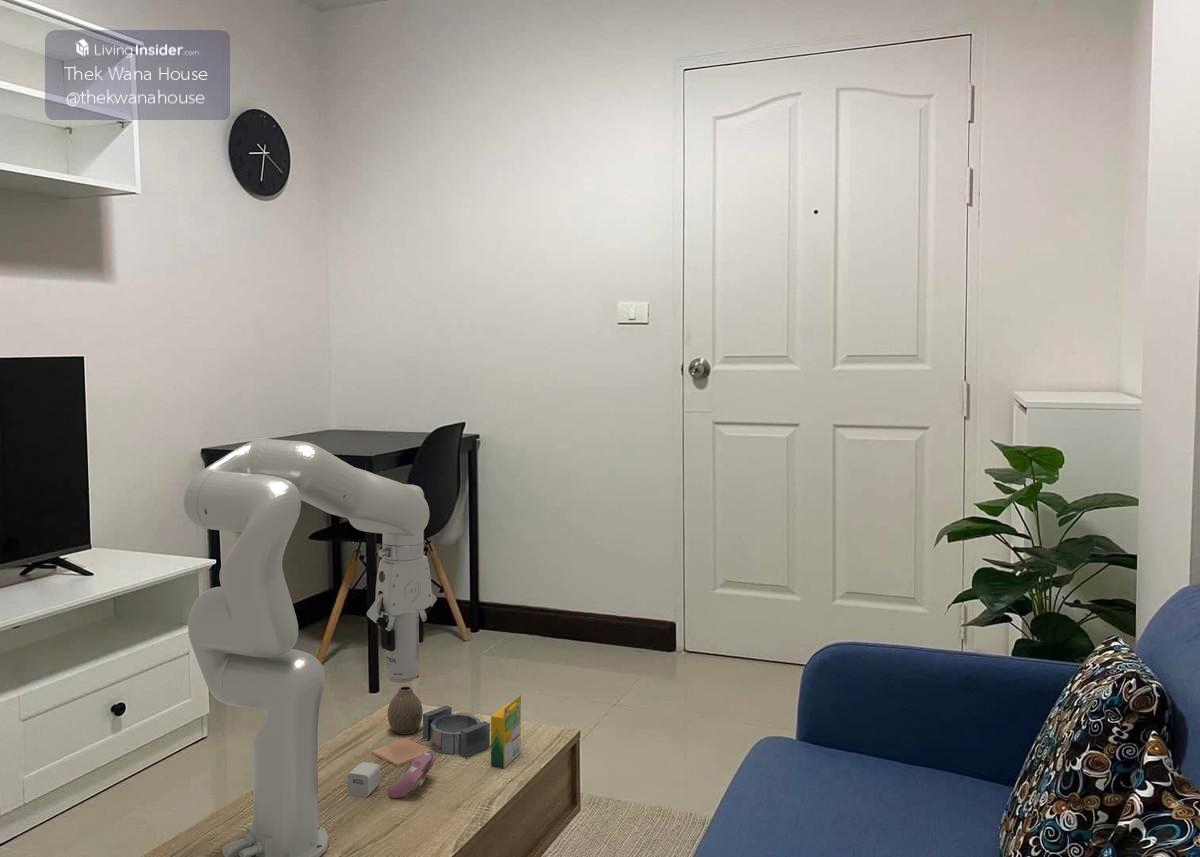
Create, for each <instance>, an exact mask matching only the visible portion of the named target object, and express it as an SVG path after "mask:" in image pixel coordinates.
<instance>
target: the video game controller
mask: <svg viewBox="0 0 1200 857" xmlns="http://www.w3.org/2000/svg"><path fill="white" fill-rule="evenodd" d="M436 760H437V756H435V755H433V753H431V754H430V753H426V751H425V752H424V753H423V754H421V755H419V756H417V757H416V758H414V759H413V761H411V762H410V764H409V765H408V766H407V767H406V772H405V773H404V775H403V776H402V777H400V778H399V779H398V780H397V781H395V782H394V783H392V784H391V785H390V786H389V788H388V790H387V794H388V796H389V797H390V798H392V799H398V798H401V797H404V796H406V795H407V794H409V793H410V794H413V793H415V791H416V789H417V787H421V786H422V785H423V783H424V782H425V781H426V779H427V778H426V776H427V775H428V773H429V772H430V770H432V768H433V766H434V765H435V762H436Z"/></svg>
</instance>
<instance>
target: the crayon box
mask: <svg viewBox="0 0 1200 857" xmlns="http://www.w3.org/2000/svg"><path fill="white" fill-rule="evenodd" d="M521 697H522V695H519V696H518V697H517V698H515V699H514V700H513V701H511V702H509V701H508V702H506V704H504V705H503V706H502V707H500V708H499V709H498V710H497V711H496V712H494V713H493V714H492V715H491V717H490V766H491V767H493V766H495V767H494V768H498V767H499V768H498V769H503V770H505V769H506V768H505V767H508V765H509V764H511V762H513V761H514V760H515V759H516V758H517V757H518V756H519V755H520V754H521V751H522V750H521V749H522V748H521V729H522V728H521V726H522V725H521V723H522V722H521V716H522V714H521V713H522V711H521V707H522V706H521V704H522V698H521ZM504 768H505V769H504Z"/></svg>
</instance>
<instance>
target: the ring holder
mask: <svg viewBox="0 0 1200 857" xmlns="http://www.w3.org/2000/svg"><path fill="white" fill-rule="evenodd" d="M452 710H453V708H452V707H451V706H449V705H443V706H441V707H438V708H436V709H435V708H434V709H431V710H430V711H427V712H423V715H422V739H424V740H426V739H427V740H426V741H429V743H430V746H431V750H434V751H436V752H439V753H440V754H445V753H446V754H447V755H460V756H461V757H462V758H464V757H465V758H464V759H468V758H470V757H472V755H473V756H475V755H477V754H480V753H482V752H485V751H487V750H489V749H491V722H488V721H481V719H480V718H479V717H477V716H474V715H472V714H469V713H467V714H466V713H457V712H456V713H452ZM488 748H489V749H488ZM486 749H487V750H486ZM481 751H482V752H481ZM479 752H480V753H479ZM476 753H477V754H476ZM474 754H475V755H474ZM467 757H468V758H467Z"/></svg>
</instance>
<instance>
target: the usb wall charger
mask: <svg viewBox="0 0 1200 857" xmlns="http://www.w3.org/2000/svg"><path fill="white" fill-rule="evenodd" d="M382 770H383V769H382V766H380V765H379V764H378V763H370V762H365V761H361V762H360V763H359V764H357V765H356V766H355V768H353V769H352V770H351V771H350V772H349V773H348V774H347V786H346V787H347V788H346V790H347V793H348V795H350V796H357V797H362V796H364V797H363V798H368V797H369V795H370V794H371V793H373V791H374V790H375V789H376V788H378V786H379V785H380V784H381V772H382Z"/></svg>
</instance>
